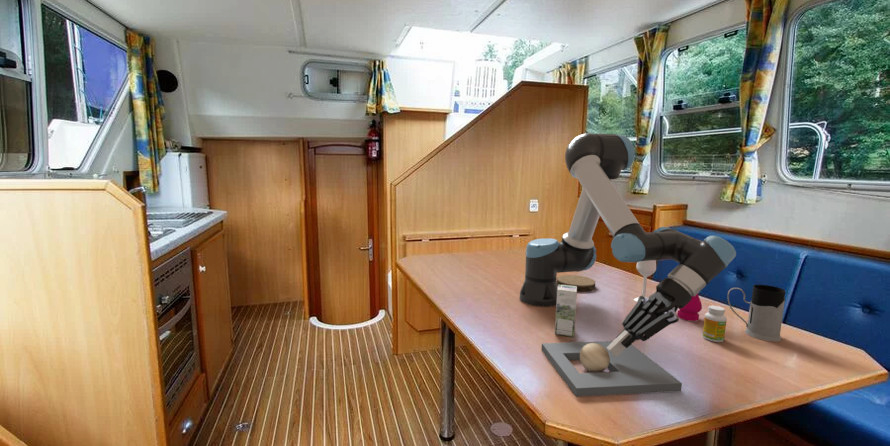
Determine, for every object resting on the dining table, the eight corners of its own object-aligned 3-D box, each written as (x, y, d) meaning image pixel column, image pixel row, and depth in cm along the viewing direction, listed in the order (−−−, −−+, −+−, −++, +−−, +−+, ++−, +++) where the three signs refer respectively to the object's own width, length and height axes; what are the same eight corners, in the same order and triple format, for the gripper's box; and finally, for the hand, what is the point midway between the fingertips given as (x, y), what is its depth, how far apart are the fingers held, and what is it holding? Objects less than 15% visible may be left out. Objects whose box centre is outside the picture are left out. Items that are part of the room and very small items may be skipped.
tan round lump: (617, 352, 96) (603, 376, 97) (591, 336, 100) (578, 359, 101) (611, 355, 91) (597, 380, 91) (584, 338, 95) (571, 362, 95)
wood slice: (563, 279, 178) (563, 273, 177) (599, 285, 168) (599, 279, 168) (551, 287, 165) (551, 280, 164) (589, 295, 156) (589, 287, 155)
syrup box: (574, 330, 121) (577, 285, 119) (574, 337, 115) (577, 291, 113) (555, 327, 122) (557, 283, 120) (554, 334, 117) (556, 288, 115)
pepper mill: (704, 322, 128) (710, 264, 125) (680, 320, 129) (686, 262, 126) (694, 314, 135) (700, 259, 132) (672, 313, 136) (677, 257, 133)
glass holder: (784, 344, 113) (791, 294, 111) (724, 332, 120) (730, 286, 118) (778, 333, 120) (784, 287, 118) (722, 323, 127) (727, 279, 125)
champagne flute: (634, 302, 147) (639, 240, 143) (632, 297, 153) (637, 237, 149) (654, 304, 144) (659, 242, 141) (652, 299, 150) (657, 239, 147)
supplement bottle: (717, 344, 112) (721, 312, 111) (698, 336, 117) (701, 306, 115) (727, 340, 115) (731, 309, 113) (708, 333, 119) (712, 303, 118)
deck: (626, 347, 109) (627, 340, 109) (681, 391, 88) (681, 383, 87) (541, 350, 107) (541, 343, 107) (576, 396, 85) (576, 388, 85)
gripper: (708, 306, 90) (635, 375, 91) (670, 289, 103) (607, 349, 104) (689, 285, 89) (615, 355, 90) (653, 270, 102) (589, 331, 103)
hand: (611, 352), depth 97 cm, fingers closed
